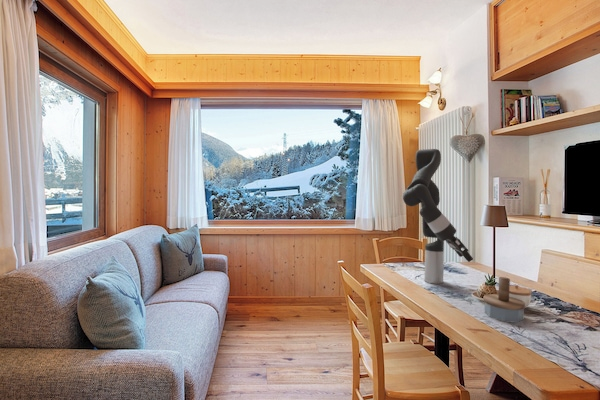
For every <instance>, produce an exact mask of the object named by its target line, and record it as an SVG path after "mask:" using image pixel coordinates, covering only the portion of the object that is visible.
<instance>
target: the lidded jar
mask: <svg viewBox="0 0 600 400" xmlns="http://www.w3.org/2000/svg"><path fill="white" fill-rule="evenodd" d="M532 293H533V292H532V290H531V289H529V288H527V287H523V286H520V285H518V284H515V285H512V284H511V285H510V288H509V296H510V297H514V298H517V299H519V300H521V301H523V302H524V303H525V308H527V307H528V306H529V305H530V304H531V300H532Z"/></svg>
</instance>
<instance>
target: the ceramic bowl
mask: <svg viewBox="0 0 600 400" xmlns="http://www.w3.org/2000/svg"><path fill="white" fill-rule="evenodd" d="M484 313H485V314H487V316H488V317H490V318H491V319H492V318H493V319H496V320H499V321H502V322H510V323H520V322H522V321H523V320H524V316H525V308H524V309H521V310H509V309H503V308H498V307H495V306H492V305H489V304H487V303H485V302H484ZM522 319H523V320H522ZM519 321H520V322H519Z"/></svg>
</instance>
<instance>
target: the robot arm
mask: <svg viewBox="0 0 600 400" xmlns="http://www.w3.org/2000/svg"><path fill="white" fill-rule="evenodd" d="M414 156H415V158H414V160H415V166H416V172H415V173H414V175H413V177H412V180H411V183H410V184H409V185H408V186H407V187H406V189H405V190H404V191H403V194H402V199H403V203H404V204H405V205H406V206H408V207H416V206H417V205H419V204H420V206H421V207H420V209H419V215H420V216H421V217H422V220H421V222H422V223H421V224H422V234H423V236H424V237H426V238H432V239H437V240H435V241H433V242H429V243H426V244H425V246H424V282H426V283H430V284H435V285H436V284H437V285H438V284H443V283H444V267H445V266H444V265H445V264H444V248H445V247H444V246H445V245H444V242H446V243H447V244H448V246H449V247H450V248H451V249H452V250H454V252H456V253H455V254H457V255H458V257H460V258H462V257H463V258H464V259H465V260H466V261H467V262H472V261H474V257H473V256H472V255H471V254H470V253H469V249H468V248H467V247H466V246H465V244H464V243H463V241H462V240H461V239H460V238H459V237H457V236H455V234H456V233H457V229H456V227H455V226H453V224H452V223H451V222H450V220H449V219H448V218H447V217H446V216H445V215H444V213H442V212H441V210H440V209H439V208H438V206H439V204H440V200H441V198H440V189H439V187H438V186H437V185H436V183H435V181H433V180H432V179H433V176H434V174H436V172H437V171H438V169H439V167H440V166H441V161H442V154H441V151H440V149H437V148H429V149H428V148H427V149H418V150H417V151H416V152H415V155H414ZM462 249H463V250H462Z"/></svg>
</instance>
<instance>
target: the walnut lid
mask: <svg viewBox="0 0 600 400" xmlns="http://www.w3.org/2000/svg"><path fill="white" fill-rule="evenodd" d="M510 281H511V279H510V278H509V277H505V276H499V277H498V294H496V293H495V294H492V293H489V294H485V295H483V298H482V300H483V302H484V304H485V303H487V304H489V305H492V306H495V307H498V308H503V309H509V310H521V309H524V310H525V309H526V307H525V303H524V302H523V301H521V300H519V299H517V298H514V297H510V296H509V288H510V284H511V282H510Z"/></svg>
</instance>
